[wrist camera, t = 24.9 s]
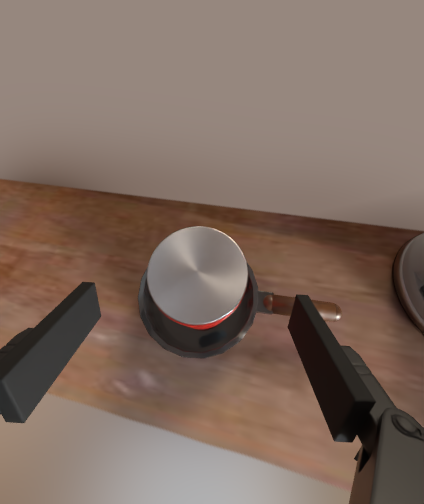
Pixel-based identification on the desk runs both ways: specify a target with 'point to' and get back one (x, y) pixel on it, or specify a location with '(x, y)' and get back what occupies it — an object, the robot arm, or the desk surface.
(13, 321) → the desk surface
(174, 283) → the tomato can
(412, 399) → the desk surface
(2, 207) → the desk surface
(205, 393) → the desk surface
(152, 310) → the skillet
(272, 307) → the skillet handle
